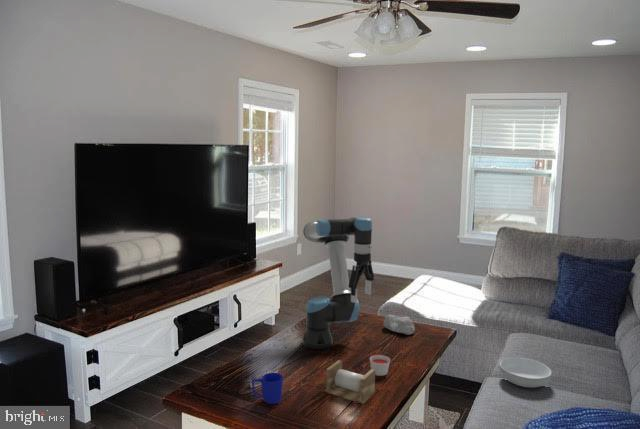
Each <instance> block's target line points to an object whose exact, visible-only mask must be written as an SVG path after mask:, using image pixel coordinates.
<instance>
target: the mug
mask: <svg viewBox="0 0 640 429" xmlns="http://www.w3.org/2000/svg"><path fill="white" fill-rule="evenodd" d="M283 380H284V378H283V375H282V374H281V373H278V372H268V373H265V374H263V375H262V376H261V378H253V379H251V385H252V393H253V395H254V397H255V398H257V399H261V398H263V401H264V403H266V404H268V405H275V404H279V403H280V401H281V400H282V391H283ZM255 382H260V384H261V391H262V392H261V393H262V394H261V395H258V394H257V393H256V390H255Z"/></svg>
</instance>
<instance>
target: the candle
mask: <svg viewBox="0 0 640 429" xmlns="http://www.w3.org/2000/svg"><path fill="white" fill-rule="evenodd" d="M369 362H370V370H371V369H373V370H375V376H378V377H383V376H386V375H387V374H388V371H389V367H390V362H391V358H390V357H388V356H385V355H382V354H375V355H372V356H370V357H369Z"/></svg>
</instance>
